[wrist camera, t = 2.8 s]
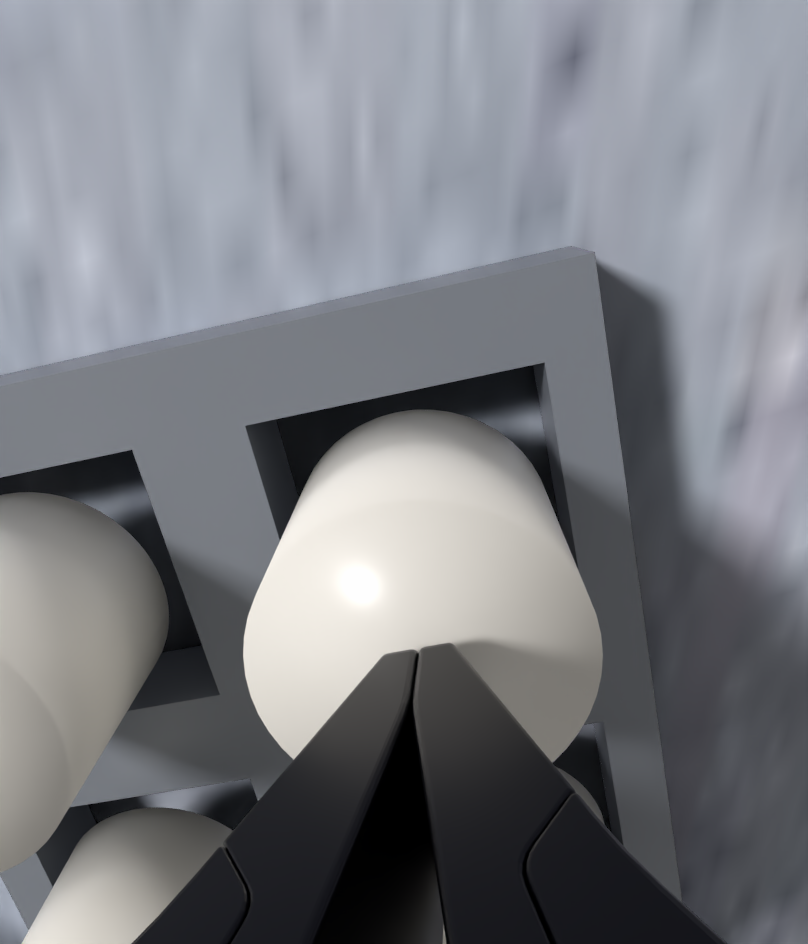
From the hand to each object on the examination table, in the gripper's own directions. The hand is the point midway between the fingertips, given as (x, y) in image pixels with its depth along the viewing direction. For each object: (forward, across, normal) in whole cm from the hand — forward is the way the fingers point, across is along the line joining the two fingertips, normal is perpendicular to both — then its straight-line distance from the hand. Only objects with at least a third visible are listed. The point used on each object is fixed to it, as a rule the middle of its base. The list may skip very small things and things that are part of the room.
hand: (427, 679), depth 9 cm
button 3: (+4, 0, 0) cm, 4 cm away
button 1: (+4, +7, 0) cm, 8 cm away
